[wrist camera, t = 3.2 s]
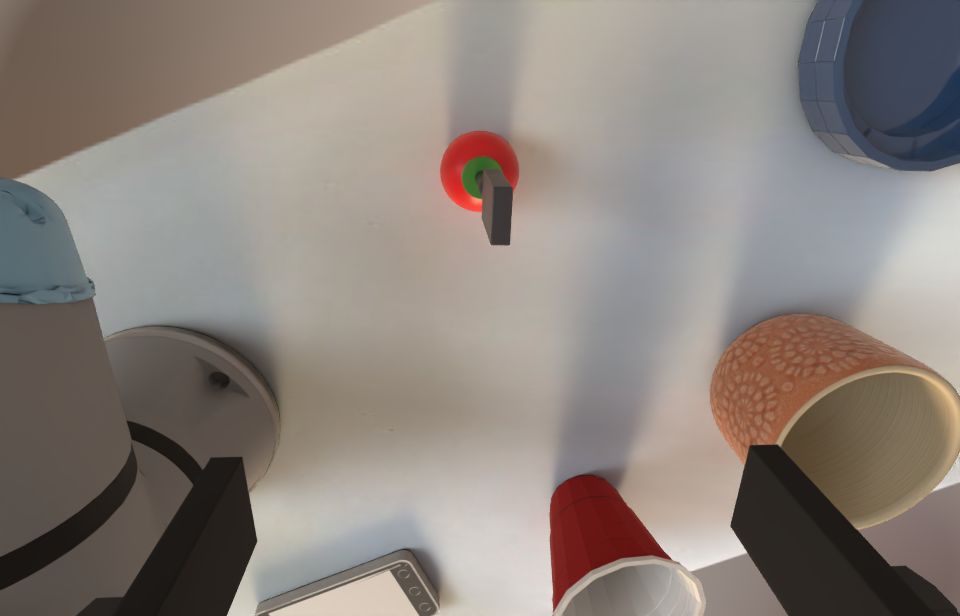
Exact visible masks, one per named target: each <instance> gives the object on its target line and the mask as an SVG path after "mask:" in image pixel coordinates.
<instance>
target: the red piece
mask: <svg viewBox="0 0 960 616" xmlns="http://www.w3.org/2000/svg"><path fill="white" fill-rule="evenodd" d="M440 174H441V181H442V184H443V187H444V189H445V191H446V193H447V195H448V196H449V197H450V198H451V200H452V201H453V202H455V203H456V204H457V205H459V206H460V207H462V208H464V209H467V210H470V211H475V212H482V220H483V223H484V226H485V229H486V232H487V235H488V238H489V241H490V244H491V245H505V246H509V245H510V234H511V216H512V198H513V192H514V190H515V188H516V185H517V182H518V178H519V165H518V160H517V157H516V155H515V153H514V151H513V149H512V148H511V146H510V145H509V144H508V143H507V142H506V141H505V140H504V139H503V138H501V137H500V136H498V135H496V134H493V133H491V132H486V131H473V132H469V133H466V134H464V135H461V136H460V137H458V138H457V139H455V140H454V141H453V142H452V143H451V144H450V145H449V147H448V148H447V150H446V151H445V154H444V156H443V158H442V162H441V168H440Z"/></svg>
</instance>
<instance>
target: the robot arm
mask: <svg viewBox="0 0 960 616" xmlns="http://www.w3.org/2000/svg"><path fill="white" fill-rule="evenodd" d="M95 295H96V294H95V287H94V282H93V281H92V280H90V279H89V278H88V277H86V274H85V271H84V269H83V266H82V263H81V260H80V257H79V254H78V251H77V249H76V246H75V243H74V240H73V237H72V234H71V231H70V228H69V226H68V223H67V220H66V218H65V216H64V214H63V212H62V211H61V209H60V208H59V207H58V205H57V204H56V203H55V202H54V201H53V200H52V199H50V198H49V197H48V196H47V195H45V194H44V193H42V192H41V191H39V190H37V189H35V188H33V187H31V186H29V185H26V184H23V183H20V182H17V181H14V180H10V179H5V178H0V616H227V614H228V611H229V609H230V606H231V604H232V602H233V599H234V597H235V594H236V592H237V589H238V587H239V584H240V582H241V580H242V577H243V575H244V572H245V570H246V567H247V565H248V563H249V560H250V558H251V555H252V553H253V550H254V548H255V545H256V543H257V537H256V532H255V526H254V520H253V515H252V509H251V503H250V497H249V493H250V492H251V491H252V490H253V489H254V488H255V486H256V485H257V484H258V483H259V481H260V480H261V479H262V478H263V476H264V475H265V473H266V471H267V470H268V468H269V465H270V463H271V461H272V459H273V456H274V454H275V452H276V449H277V446H278V443H279V437H280V416H279V410H278V407H277V403H276V401H275V398H274V396H273V393H272V391H271V390H270V388H269V386H268V384H267V383H266V381H265V380H264V378H263V377H262V376H261V375H260V373H259V372H258V371H257V370H256V369H255V368H254V367H253V366H252V365H251V364H250V363H249V362H248V361H247V360H246V359H245V358H244V357H242V356H241V355H240V354H239V353H237V352H236V351H234V350H233V349H231V348H230V347H228V346H226V345H225V344H223V343H221V342H219V341H217V340H215V339H213V338H211V337H208V336H205V335H203V334H200V333H197V332H193V331H190V330H185V329H180V328H173V327H162V326H151V327H139V328H133V329H129V330H124V331H121V332H118V333H115V334H113V335H111V336H108V337H106V338H103V335H102V331H101V328H100V324H99V321H98V317H97V313H96V309H95V305H94V301H93V297H94V296H95ZM730 526H731V528H732V529H733V531H734V532H735V534H736V536H737V537H738V539H739V540H740V542H741V543H742V545H743V546H744V548H745V549H746V551H747V553H748V554H749V556H750V557H751V559H752V560H753V562H754V563H755V565H756V566H757V568H758V569H759V571H760V573H761V574H762V576H763V577H764V579H765V580H766V582H767V583H768V585H769V586H770V588H771V590H772V591H773V593H774V594H775V595H776V597H777V599H778V600H779V602H780V603H781V605H782V606H783V608H784V609H785V611H786V613H787V614H788V616H960V614H959V613H958V612H957V609H956V607H955V606H954V605H953V604H952V603H951V602H950V601H949V600H948V599H947V598H946V597H945V596H944V595H943V594H942V593H941V592H940V591H939V590H938V589H937V588H936V587H935V586H934V585H932V584H931V583H930V582H928V581H927V580H925V579H924V578H922V577H921V576H920V575H918V574H917V573H915V572H913V571H912V570H911V569H909V568H908V567H906V566H890V565H889V564H888V563H887V562H886V561H885V560H884V559H883V557H882V556H881V555H880V554H879V553H878V552H877V551H876V550H875V549H874V548H873V547H872V546H871V544H870V543H869V542H868V541H867V540H866V539H865V538H864V537H863V536H862V535H861V534H860V533H859V532H858V530H857V529H856V528H855V527H854V526H853V525H852V524H851V523H850V522H849V521H848V520H847V519H846V518H845V516H844V515H843V514H842V513H841V512H840V511H839V510H838V509H837V508H836V507H835V506H834V505H833V504H832V502H831V501H830V500H829V499H828V498H827V497H826V496H825V495H824V494H823V493H822V492H821V491H820V490H819V488H818V487H817V486H816V485H815V484H814V483H813V482H812V481H811V480H810V479H809V478H808V477H807V475H806V474H805V473H804V472H803V471H802V470H801V469H800V468H799V467H798V466H797V465H796V464H795V463H794V461H793V460H792V459H791V458H790V457H789V456H788V455H787V454H786V453H785V452H784V451H783V450H782V449H781V447H780V446H779V445H778V444H772V445H750V446H749V450H748V454H747V459H746V463H745V467H744V471H743V475H742V480H741V484H740V488H739V492H738V496H737V500H736V505H735V509H734V513H733V517H732V521H731V525H730Z"/></svg>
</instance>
